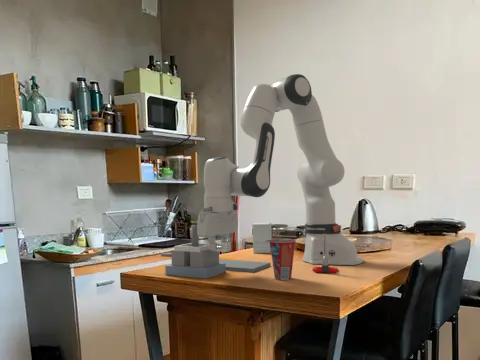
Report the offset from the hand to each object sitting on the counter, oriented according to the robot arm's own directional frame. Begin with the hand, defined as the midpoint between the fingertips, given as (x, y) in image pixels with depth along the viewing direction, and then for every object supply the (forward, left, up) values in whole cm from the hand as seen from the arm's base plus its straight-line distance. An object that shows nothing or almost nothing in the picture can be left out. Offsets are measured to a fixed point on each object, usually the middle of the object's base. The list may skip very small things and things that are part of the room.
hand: (218, 248), depth 155 cm
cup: (-21, -3, -9) cm, 23 cm away
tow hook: (-29, -21, -9) cm, 37 cm away
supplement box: (+10, -54, -9) cm, 56 cm away
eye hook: (+5, 0, -1) cm, 5 cm away
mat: (+3, -16, -9) cm, 18 cm away
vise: (+12, 0, -9) cm, 15 cm away
